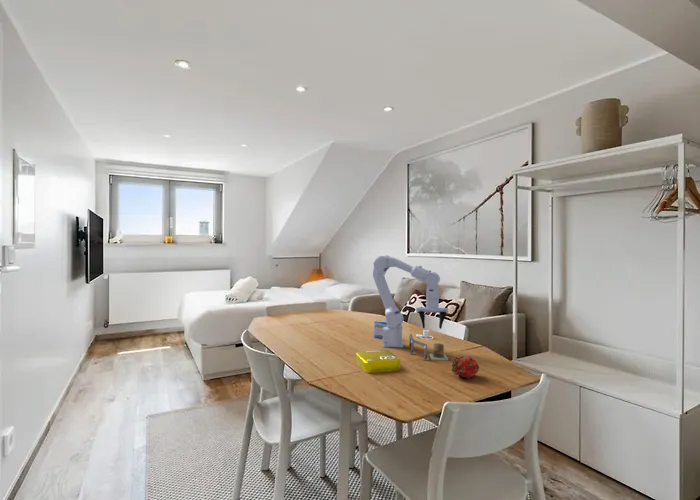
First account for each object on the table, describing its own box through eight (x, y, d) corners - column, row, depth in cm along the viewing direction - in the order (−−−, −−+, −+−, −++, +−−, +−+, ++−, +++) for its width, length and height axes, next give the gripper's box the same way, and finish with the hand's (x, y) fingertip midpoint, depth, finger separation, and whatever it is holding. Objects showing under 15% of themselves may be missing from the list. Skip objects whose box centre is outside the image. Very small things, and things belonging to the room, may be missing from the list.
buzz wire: (411, 359, 158) (411, 344, 158) (407, 346, 179) (408, 333, 179) (428, 360, 158) (429, 345, 158) (423, 347, 178) (423, 333, 178)
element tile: (387, 359, 160) (388, 348, 160) (402, 371, 145) (402, 358, 145) (354, 362, 156) (354, 350, 155) (365, 374, 141) (366, 361, 141)
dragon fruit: (449, 382, 137) (475, 383, 141) (462, 375, 131) (489, 376, 135) (443, 359, 142) (469, 361, 146) (456, 351, 136) (482, 353, 140)
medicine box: (373, 337, 195) (374, 321, 195) (375, 335, 200) (375, 319, 200) (388, 339, 193) (388, 322, 193) (390, 337, 197) (390, 320, 197)
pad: (431, 359, 159) (431, 358, 159) (429, 354, 167) (429, 353, 167) (448, 360, 158) (448, 359, 158) (445, 354, 166) (445, 353, 166)
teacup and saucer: (414, 338, 196) (415, 331, 196) (419, 335, 203) (419, 328, 203) (431, 340, 192) (431, 333, 192) (435, 337, 199) (435, 330, 199)
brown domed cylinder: (433, 357, 160) (433, 346, 160) (431, 354, 165) (432, 343, 165) (445, 358, 160) (445, 346, 160) (443, 354, 165) (443, 343, 165)
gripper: (417, 299, 170) (417, 329, 170) (449, 300, 169) (449, 330, 169) (416, 297, 177) (415, 325, 177) (447, 298, 176) (446, 326, 176)
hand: (431, 327), depth 173 cm, fingers open, 7 cm apart
